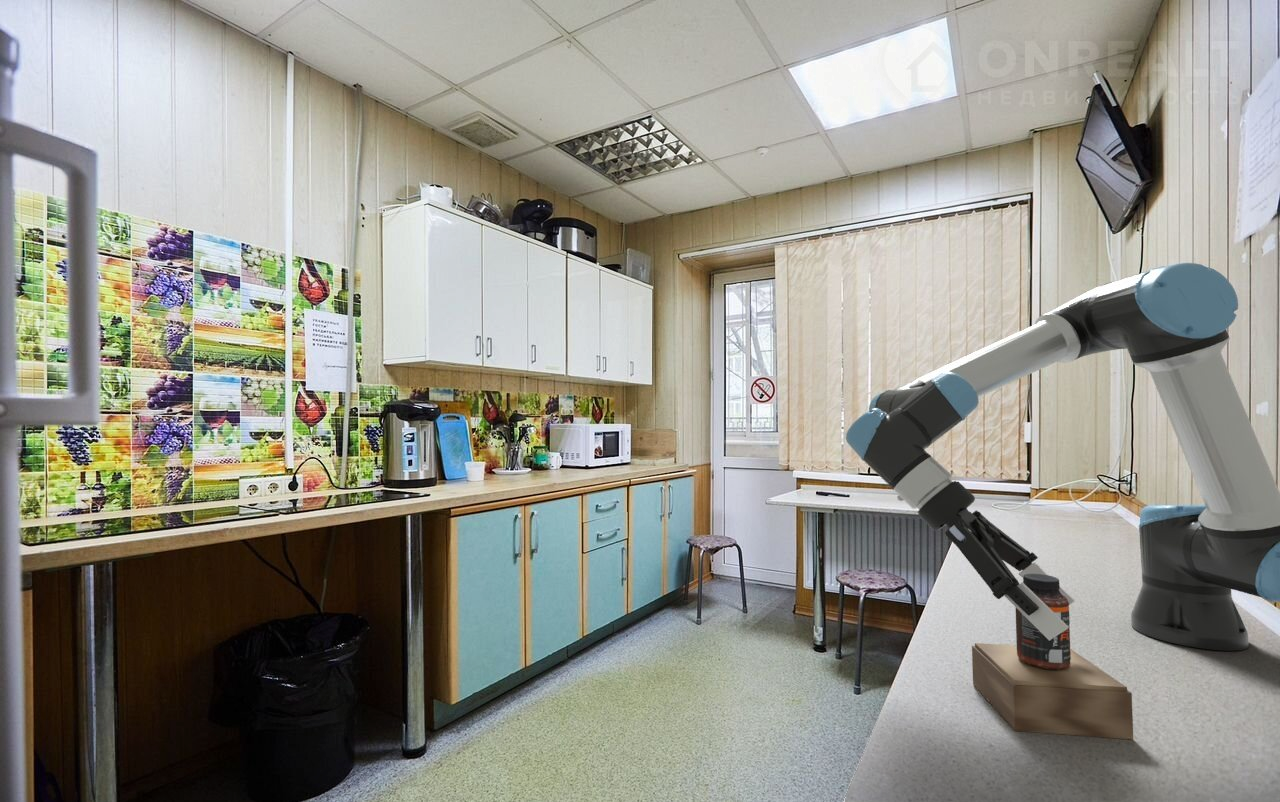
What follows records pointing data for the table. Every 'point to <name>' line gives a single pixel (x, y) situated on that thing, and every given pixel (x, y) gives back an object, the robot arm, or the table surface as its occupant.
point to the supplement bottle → (1030, 639)
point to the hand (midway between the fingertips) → (1063, 619)
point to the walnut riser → (1052, 694)
